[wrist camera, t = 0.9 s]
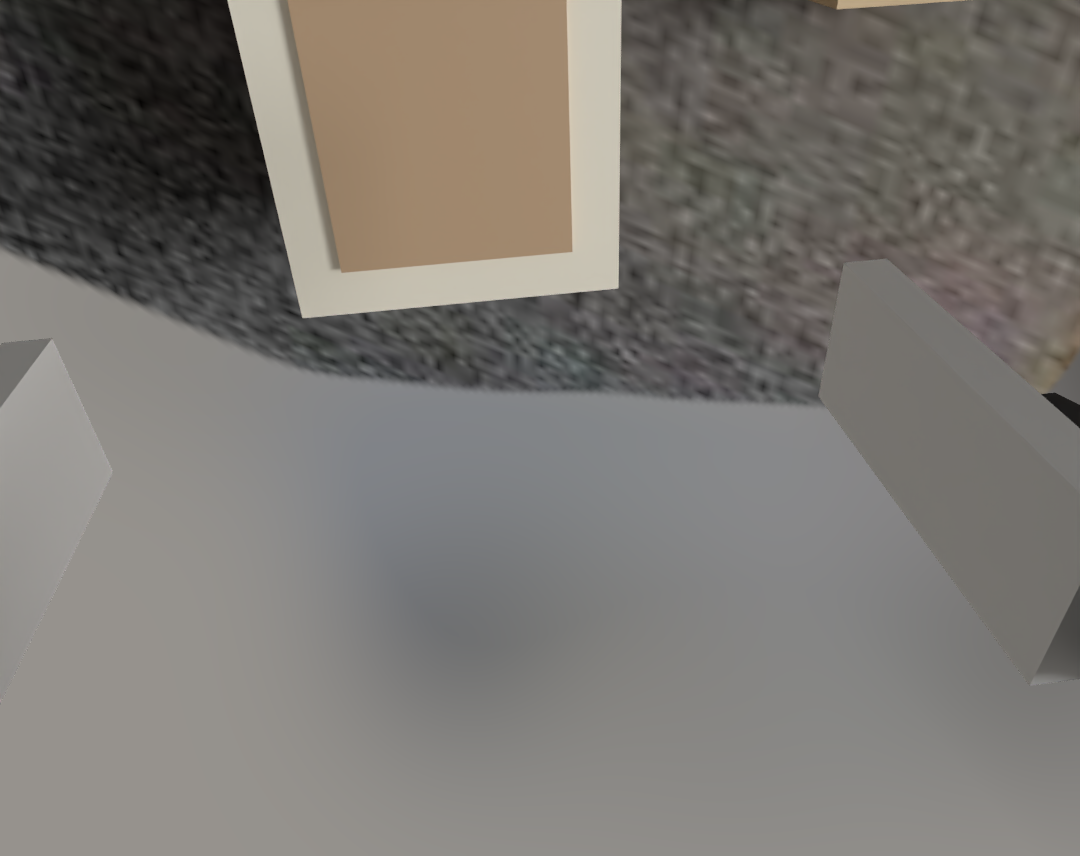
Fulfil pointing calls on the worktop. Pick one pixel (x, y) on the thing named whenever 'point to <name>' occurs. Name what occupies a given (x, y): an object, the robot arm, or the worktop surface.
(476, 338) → the worktop surface
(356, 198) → the lid
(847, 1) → the block
